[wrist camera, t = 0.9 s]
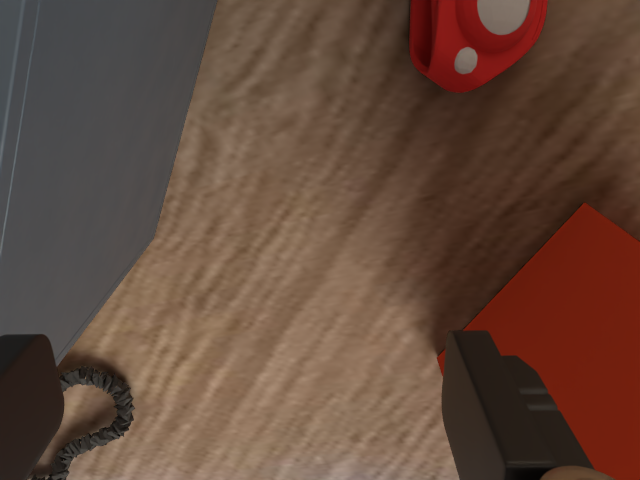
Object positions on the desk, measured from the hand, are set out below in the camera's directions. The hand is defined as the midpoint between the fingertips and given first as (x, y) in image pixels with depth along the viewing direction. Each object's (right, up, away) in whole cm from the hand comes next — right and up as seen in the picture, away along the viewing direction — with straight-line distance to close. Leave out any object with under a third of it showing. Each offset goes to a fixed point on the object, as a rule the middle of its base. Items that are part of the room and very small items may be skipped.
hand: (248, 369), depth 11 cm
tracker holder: (+11, +20, +26) cm, 34 cm away
